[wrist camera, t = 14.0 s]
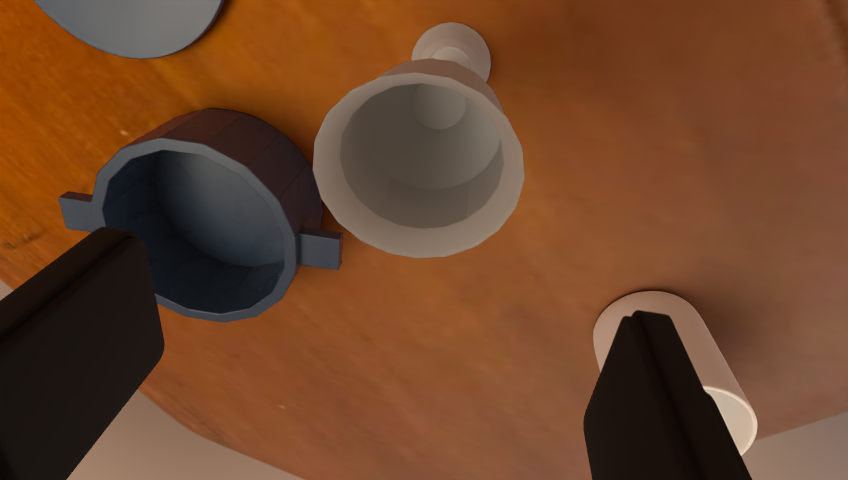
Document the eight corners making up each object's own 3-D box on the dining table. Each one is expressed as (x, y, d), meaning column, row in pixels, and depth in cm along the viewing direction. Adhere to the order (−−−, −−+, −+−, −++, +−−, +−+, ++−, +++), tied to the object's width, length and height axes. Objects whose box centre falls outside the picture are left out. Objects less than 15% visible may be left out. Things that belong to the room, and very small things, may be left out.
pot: (97, 90, 37) (26, 118, 31) (362, 128, 36) (339, 163, 31) (130, 253, 44) (77, 300, 38) (354, 288, 43) (333, 340, 38)
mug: (715, 387, 44) (772, 500, 35) (615, 407, 47) (645, 518, 38) (689, 273, 39) (748, 372, 30) (578, 303, 42) (603, 402, 33)
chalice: (513, 7, 32) (534, 74, 16) (504, 118, 35) (516, 263, 19) (392, 6, 32) (301, 69, 17) (395, 115, 36) (322, 253, 20)
